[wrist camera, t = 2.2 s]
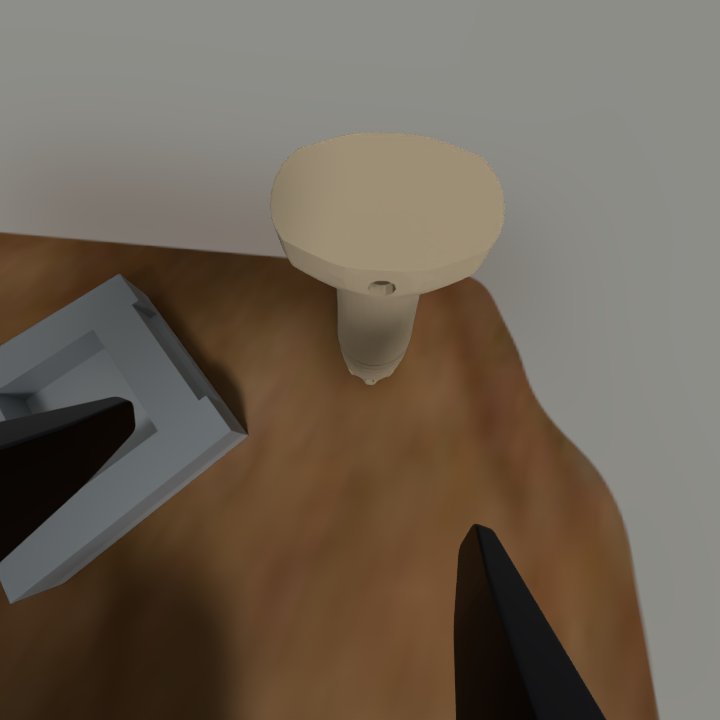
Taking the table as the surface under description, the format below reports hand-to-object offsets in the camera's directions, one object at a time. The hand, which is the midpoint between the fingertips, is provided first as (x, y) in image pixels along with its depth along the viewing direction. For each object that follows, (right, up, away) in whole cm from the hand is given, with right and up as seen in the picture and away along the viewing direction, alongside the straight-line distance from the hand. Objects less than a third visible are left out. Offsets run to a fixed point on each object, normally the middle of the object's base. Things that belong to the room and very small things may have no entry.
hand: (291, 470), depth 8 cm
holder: (-15, -1, +14) cm, 21 cm away
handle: (+2, +2, +15) cm, 16 cm away
